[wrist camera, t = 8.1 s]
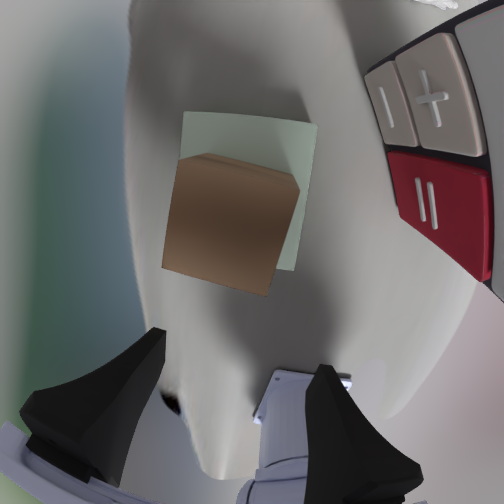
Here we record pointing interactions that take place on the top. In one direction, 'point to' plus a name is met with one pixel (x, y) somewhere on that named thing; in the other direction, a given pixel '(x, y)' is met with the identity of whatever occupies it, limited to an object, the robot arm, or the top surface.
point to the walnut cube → (228, 221)
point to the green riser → (258, 154)
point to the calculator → (450, 136)
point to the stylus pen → (441, 3)
